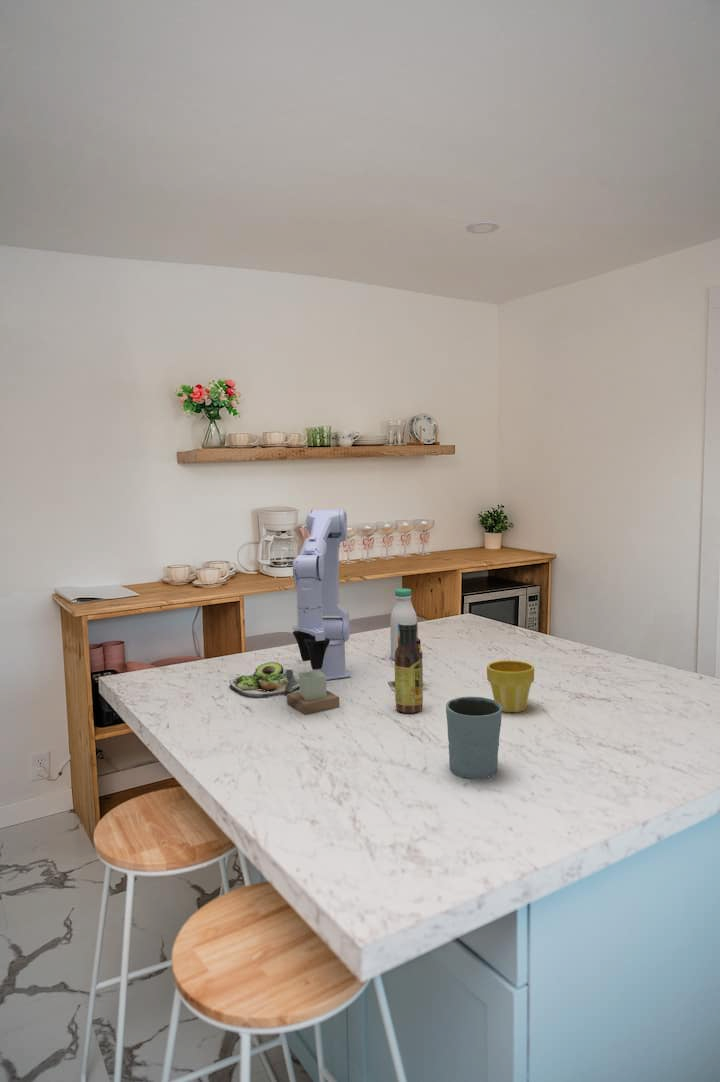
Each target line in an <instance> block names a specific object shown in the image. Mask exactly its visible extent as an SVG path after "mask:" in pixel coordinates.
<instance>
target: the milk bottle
mask: <svg viewBox="0 0 720 1082" xmlns="http://www.w3.org/2000/svg"><path fill="white" fill-rule="evenodd" d="M394 593H395V596H394V597H395V603H394V607H393V610H392V611H391V614H390V626H389V627H390V657H391V660H392V661H395V651H396V649H397V647H398V646H399V644H400V642H399V640H400V631H399V623H401V622H415V623H416V625H417V629H416V638H419V636H418V634H419V633H418V631H419V629H418V616H417V613H416V611H415V608H414V606H413V603H412V589H411V588H396V589H395V591H394Z"/></svg>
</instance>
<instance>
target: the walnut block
mask: <svg viewBox="0 0 720 1082" xmlns="http://www.w3.org/2000/svg"><path fill="white" fill-rule="evenodd" d="M326 695H327V697H326V698H318V699H311V700H305V699H304V698H303V697H302V696H301V695H300V691H295V692H289V693H286V704H287V705H288V706H289V707H290V706H291V707H290V708H292V709H294V710H296V711H297V712H299V713H300V714H302V715H304V716H308V715H313V714H317V713H321V712H325V711H326V712H327V711H329V710H334V709H335V710H336V709H338V708H340V704H341V703H340V696H338V695H336V694H335V693H333V692H331V691H328V690H327V689H326Z"/></svg>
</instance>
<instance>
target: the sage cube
mask: <svg viewBox="0 0 720 1082" xmlns="http://www.w3.org/2000/svg"><path fill="white" fill-rule="evenodd" d="M298 678H299V687H298V688H299V692H300V695H301V696H302V697H303V698H304V699H305V700H311V699H318V698H326V697H327V695H326V690H327V680H326V676H325V675H324V674H323V673H322V672H321V671H312V670H311V671H304V672H303V671H302V672H299V673H298Z"/></svg>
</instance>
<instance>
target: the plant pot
mask: <svg viewBox="0 0 720 1082" xmlns="http://www.w3.org/2000/svg"><path fill="white" fill-rule="evenodd" d="M486 676H487V677H486V679H487V682H488V683H490V687H491V692H492V696H493V699H494V701H496V702H498V703H499V704H500V705H501V706H502V713H504V712H505V713H510V712H515V713H522V712H525V710H526V709H527V706H528V705H527V703H528V700H529V694H530V691H531V686H532V683H534V681H535V666H534V665H533V664H531V663H530V662H527V661H523V660H522V661H521V660H515V659H514V660H513V659H512V660H509V659H508V660H507V659H506V660H505V659H504V660H495V661H492V662H490V663H488V664H487V665H486ZM521 711H522V712H521Z"/></svg>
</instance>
